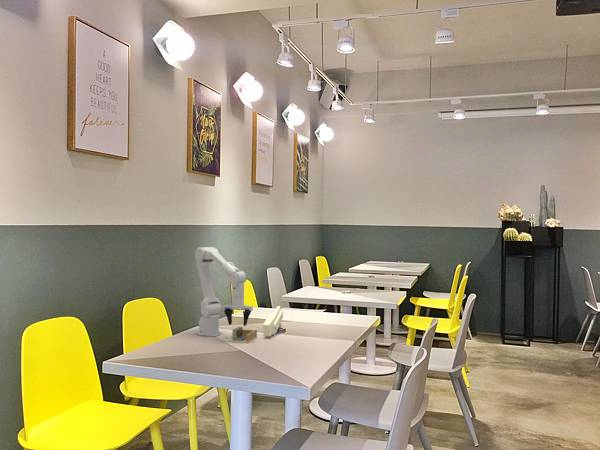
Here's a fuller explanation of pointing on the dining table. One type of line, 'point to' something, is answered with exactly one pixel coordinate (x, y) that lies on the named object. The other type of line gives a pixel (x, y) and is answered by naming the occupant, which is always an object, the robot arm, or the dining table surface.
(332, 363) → the dining table surface
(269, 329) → the shelf bracket
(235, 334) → the angle bracket
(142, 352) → the dining table surface
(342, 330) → the dining table surface
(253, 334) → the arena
